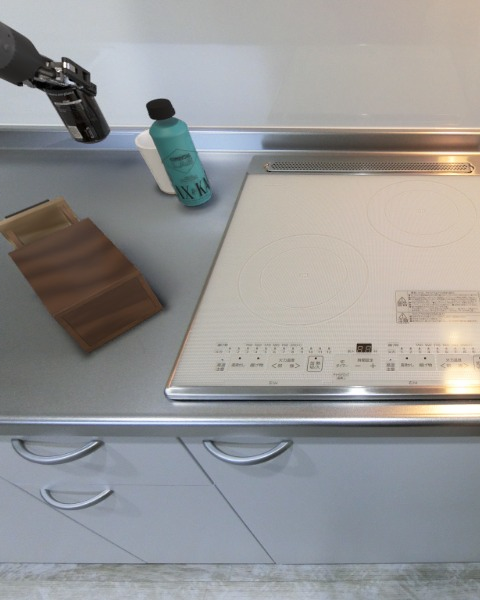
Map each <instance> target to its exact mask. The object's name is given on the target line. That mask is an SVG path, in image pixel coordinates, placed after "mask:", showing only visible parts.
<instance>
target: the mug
mask: <svg viewBox="0 0 480 600" xmlns="http://www.w3.org/2000/svg"><path fill="white" fill-rule="evenodd" d="M149 129H150V128H148V129H145V130H143V131H142V132H140V133H138V134H137V135H136V137H135V139H134V143H135V146H136V147H137V149H138V151H139V153H140V155H141V157H142V158H143V160H144V162H145V164H146V166H147V167H148V169H149V171H150V173H151V174H152V177H153V178H154V180H155V181H156V184H157V185H158V187H159V189H160V190H161V191H162V192H164V193H165V194H167V195H177V194H176V192H175V190H173V189H174V188H172V187H173V186H172V183H171V181H169V177H168V175H167V172H165V168H163V167H164V165H163V163H161V162H162V161H161V158H160V156H159V153H158V151H157V149H156V147H155V144H154V142H153V140H152V137H151V136H150V134H149Z"/></svg>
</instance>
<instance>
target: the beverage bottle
mask: <svg viewBox="0 0 480 600" xmlns="http://www.w3.org/2000/svg"><path fill="white" fill-rule="evenodd" d="M145 108H146V111H147V115H148V117H149V118H150V119H151V120H153V122H152V124H151V125H150V127H149V128H148V129H149V134H150V136H151V137H152V140H153V142H154V144H155V147H156V149H157V151H158V153H159V156H160V158H161V161H162V162H161V163H163V165H164V167H163V168H165V172H167V175H168V177H169V181H171V183H172V186H173V187H172V188H174V189H173V190H175V192H176V194H175V195H176V198H177V200H178V201H179V202H180V203H181V204H182V205H184V206H188V207H195V206H200V205H202V204H205V203H206V202H208V201H209V200H210V199H211V198H212V188H211V184H210V181H209V179H208V176H207V173H206V170H205V169H204V166H203V163H202V161H201V159H200V156H199V151H198V150H197V149H196V146H195V143H194V140H193V138H192V135H191V132H190V130H189V127H188V124H187V123H186V121H184V120H182V119H179V118H178V117H175V115H176V114H177V113H176V109H175V107H174V106H173V104H172V101H171V100H170V99H168V98H163V97H162V98H155V99H151V100H149V101H148V102H147V103H146V104H145Z"/></svg>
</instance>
